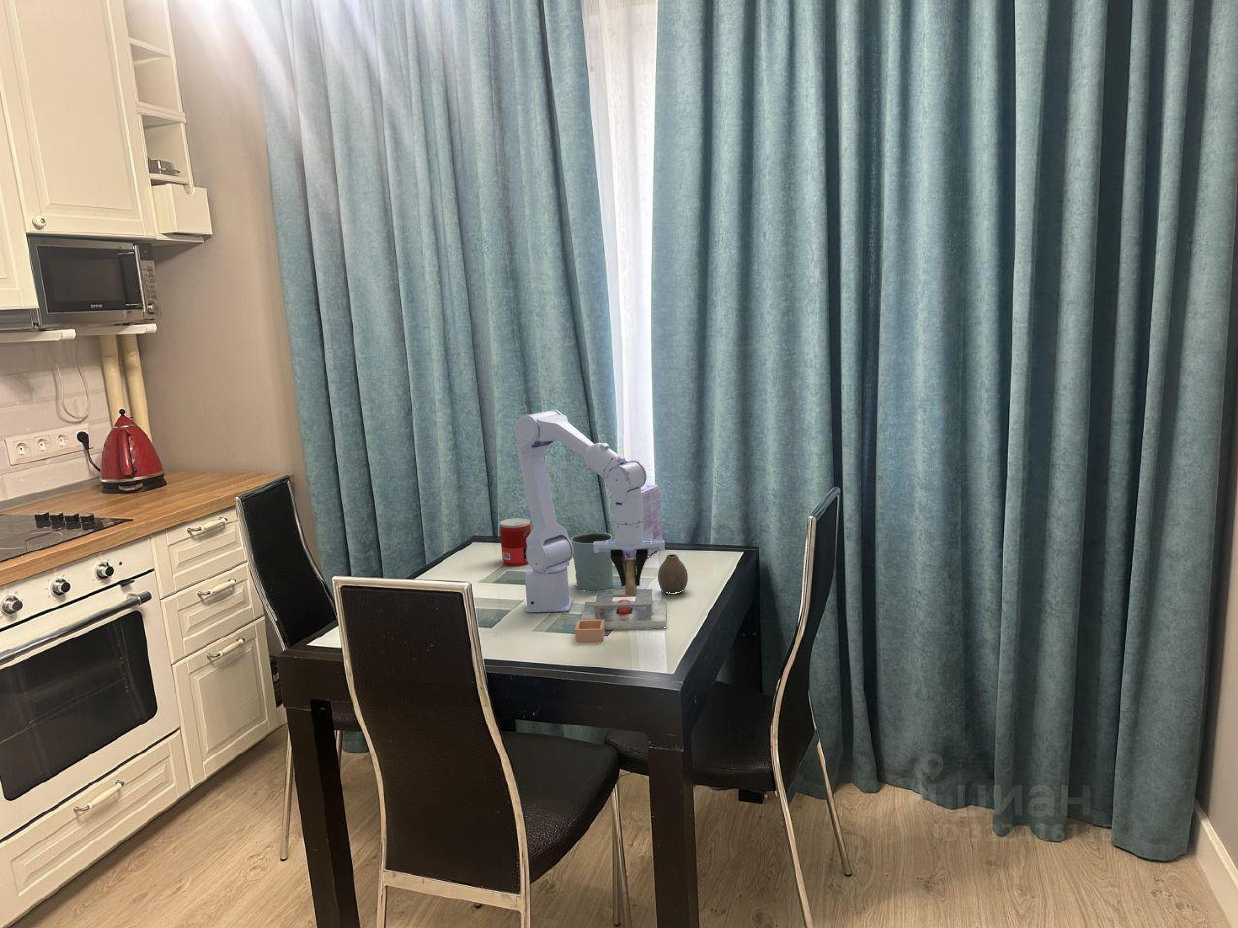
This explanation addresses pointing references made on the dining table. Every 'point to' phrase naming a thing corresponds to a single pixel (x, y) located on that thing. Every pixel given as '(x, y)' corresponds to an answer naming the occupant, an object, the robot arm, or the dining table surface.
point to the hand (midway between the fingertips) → (630, 584)
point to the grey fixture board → (641, 615)
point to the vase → (672, 575)
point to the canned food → (514, 541)
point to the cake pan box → (649, 516)
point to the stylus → (630, 576)
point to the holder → (589, 630)
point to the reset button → (624, 609)
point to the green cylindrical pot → (592, 562)
